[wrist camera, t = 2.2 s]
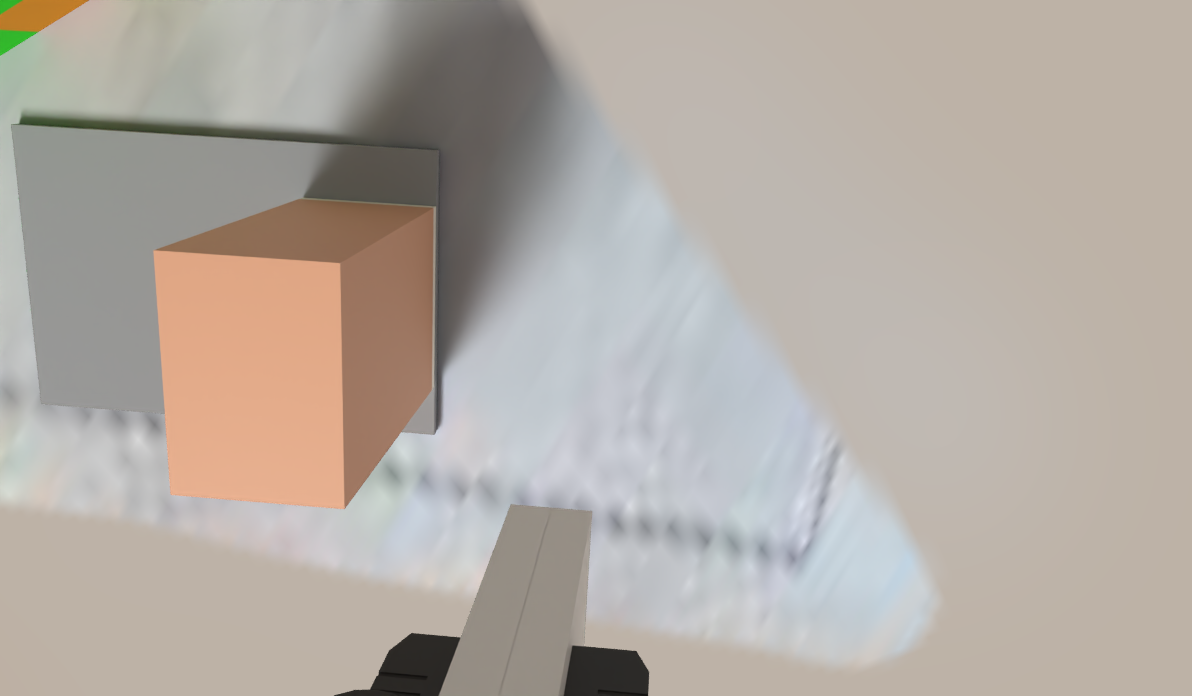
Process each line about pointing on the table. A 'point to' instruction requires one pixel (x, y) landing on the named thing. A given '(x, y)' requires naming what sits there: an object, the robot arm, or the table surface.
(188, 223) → the mat
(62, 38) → the table surface
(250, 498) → the block
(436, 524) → the table surface
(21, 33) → the puzzle toy
